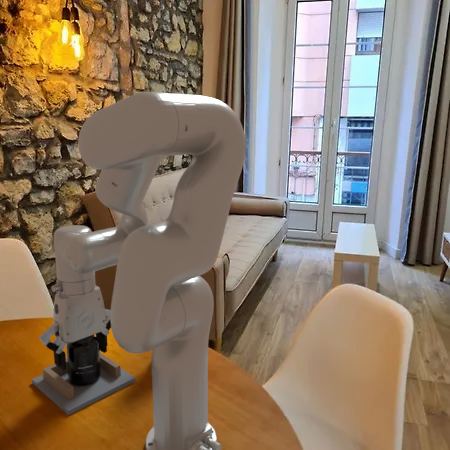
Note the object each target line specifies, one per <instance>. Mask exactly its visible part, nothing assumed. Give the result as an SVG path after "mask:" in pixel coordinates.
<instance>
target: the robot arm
mask: <svg viewBox="0 0 450 450" xmlns="http://www.w3.org/2000/svg"><path fill="white" fill-rule="evenodd" d="M245 135H246V134H245V131H244V128H243V124H242V123H241V120H240V119H239V116H238V115H237V113H236V112H235V110H233V109H232V108H231V107H230V106H229V105H228V104H227V103H224V102H223V101H222V100H220V99H217V98H214V97H210V96H205V95H199V94H192V93H191V94H190V93H172V92H161V91H143V92H138V93H134V94H132V95H131V94H130V95H129V96H127V97H125V98H123V99H120V100H119V101H116V102H114V103H112V104H110V105H107V106H105V107H103V108H101V109H99V110H97V111H95V112H94V113H92V114H91V115H90V116H89V117H87V119H86V120H85V121H84V123H83V124H82V126H81V128H80V131H79V135H78V142H77V143H78V153H79V155H80V157H81V160H82V162H84V163H85V165H87V166H88V167H89V168H91V169H94V170H99V171H100V173H99V176H98V178H97V181H96V184H95V186H94V187H95V188H94V189H95V190H94V191H95V195H96V197H97V199H98V200H99V202H100V203H101V204H102V205H104V206H105V207H107V208H109V209H110V210H112V211H114V212H117V213H118V214H121V215H122V216H121V217H120V219H119V222H118V224H117V225H116V226H114V227H108V228H103V229H98V230H95V231H92V229H91V228H90V227H88V226H86V225H83V224H82V225H78V224H77V225H75V224H74V225H72V224H71V225H65V226H61V227H58V228H57V229H55V231H54V233H53V245H54V257H55V258H54V259H55V270H56V283H55V284H54V285H51V292H52V293H55V292H56V293H55V296H54V303H53V323H52V324H51V325H50V326H49V327H47V329H46V330H44V332H42V333H41V334H40V335H39V336H38V339H39V340H40V342H41V343H42V344H43V345H44V346H45V347H46V348H47V349H48V350H50V351H53V361H54V364H55V365H56V366H58V367H59V368H61V369H62V370H65V369H66V359H67V355H66V352H65V351H64V349H65V348H66V346H67V343H73V342H76V341H79V340H81V339H84V338H86V337H89V336H92V335H94V336H95V337H96V338H97V339H98V340H99V348H100V352H101V353H102V354H104V353H105V354H106V353H107V352H108V348H107V347H108V335H109V334H110V330H111V332H112V335H113V338H114V340H115V341H116V343H117V344H118V346H119V347H120V348H121V349H122V350H124V351H126V352H128V353H131V354H145V353H147V352H150V351H152V352H151V378H152V379H151V380H152V381H151V382H152V407H153V409H152V410H153V411H152V412H153V426H152V427H151V428H150V430H149V432H148V433H147V434H146V437H145V450H222V446H223V445H222V444H221V443H219V442H218V441H217V438H218V437H217V433H216V430H215V428H214V427H213V426H212V425H211V424H210V423H209V416H208V415H209V406H208V405H209V404H208V403H209V400H208V397H209V396H208V395H209V392H208V391H209V387H208V385H209V384H208V382H209V381H208V380H209V379H208V378H209V375H208V374H209V371H208V370H209V368H208V365H209V339H210V338H209V337H210V332H211V331H210V330H211V325H212V320H213V315H214V309H215V308H214V306H215V305H214V304H215V303H214V295H213V292H212V289H211V286H210V285H209V283H208V282H207V281H206V280H205V278H203V277H202V275H204V274H206V273H208V272H210V270H212V268H213V267H214V266H215V264H216V262H217V260H218V256H219V254H220V253H219V252H220V250H221V246H222V241H223V237H224V234H225V231H226V230H225V229H226V226H227V222H228V220H229V219H228V218H229V214H230V210H231V205H232V202H233V197H234V194H235V191H236V188H237V185H238V182H239V180H240V176H241V173H242V170H243V167H244V162H245V159H246V150H247V149H246V148H247V147H246V146H247V143H246V136H245ZM184 155H185V156H186V155H192V160H191V162H190V163H189V165H188V166H187V167H186V169H185V170H184V171H183V173H182V175H180V176H181V177H180V178H179V180H178V182H177V185H176V187H175V190H174V195H173V200H172V206H171V209H170V212H169V214H168V217H166V218H165V219H164V220H163V221H158V222H154V223H150V224H149V221H148V220H149V219H148V213H147V210H146V207H145V204H144V203H143V201H144V200H145V197H146V194H147V193H148V191H149V189H150V186H151V184H152V182H153V179H154V178H155V175H156V173H157V171H158V168H159V166H160V164H161V162H162V160H163V158H164V157H172V156H174V157H175V156H184ZM114 266H116V269H115V278H114V283H113V289H112V296H111V301H110V302H111V303H110V309H107V308H105V304H104V303H105V302H104V299H103V294H102V291H101V288H100V286H98V285H97V284H96V272H97V271H100V270H104V269H106V268H109V267H110V268H111V267H114ZM53 335H55V337H54V340H53V341H51V340H50V339H51V337H52V336H53Z"/></svg>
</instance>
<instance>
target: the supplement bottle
mask: <svg viewBox="0 0 450 450" xmlns="http://www.w3.org/2000/svg"><path fill="white" fill-rule="evenodd" d="M65 348H66V349H65V350H66V359H67V366H68V379H69V382H70V383H71V384H73V385H76V386H86V385H90V384H93V383H94V382H96V381H97V380H98V379H99V377H100V353H101V351H100V348H99V340H98V339H97V338H96V335H95V334H94V335H92V336H89V337H86V338H84V339H81V340H79V341H76V342H73V343H67V344H66V346H65Z"/></svg>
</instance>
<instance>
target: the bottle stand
mask: <svg viewBox="0 0 450 450" xmlns="http://www.w3.org/2000/svg"><path fill="white" fill-rule="evenodd" d="M136 381H137V380H136V377H135V375H133V374H131V373H129V372H128V371H127V370H124V368H122V367H121V365H120V364H119V363H117V362H115V361H114V360H112V359H111V358H109V357H108V356H107V355H104V353H103V352H100V377H99V379H98V380H97V381H96V382H94V383H93V384H90V385H86V386H76V385H73V384H71V383H70V382H69V379H68V366H67V358H66V369H65V370H62V369H61V368H59V367H58V366H56V365H55V363H53V364H51V365H48V366H45V367H44V368H42V375H38V376H36V377H33V378H31V383H32V385H33V386H35V388H37V389H38V390H39V391H40V392H41V393H42V394H43V395H44V396H46V397H47V398H48V399H50V401H51V402H53V403H54V405H56V406H57V407H58V408H59V409H60V410H61V411H63V413H65V414H66V415H67V416H70V415H72V414H74V413H77V412H78V411H80V410H82V409H84V408H86V407H88V406H91V405H92V404H94V403H96V402H98V401H100V400H102V399H104V398H105V397H107V396H110V395H112V394H113V393H116V392H118V391H120V390H122V389H124V388H126V387H128V386H129V385H132V384H133V383H136Z"/></svg>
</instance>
